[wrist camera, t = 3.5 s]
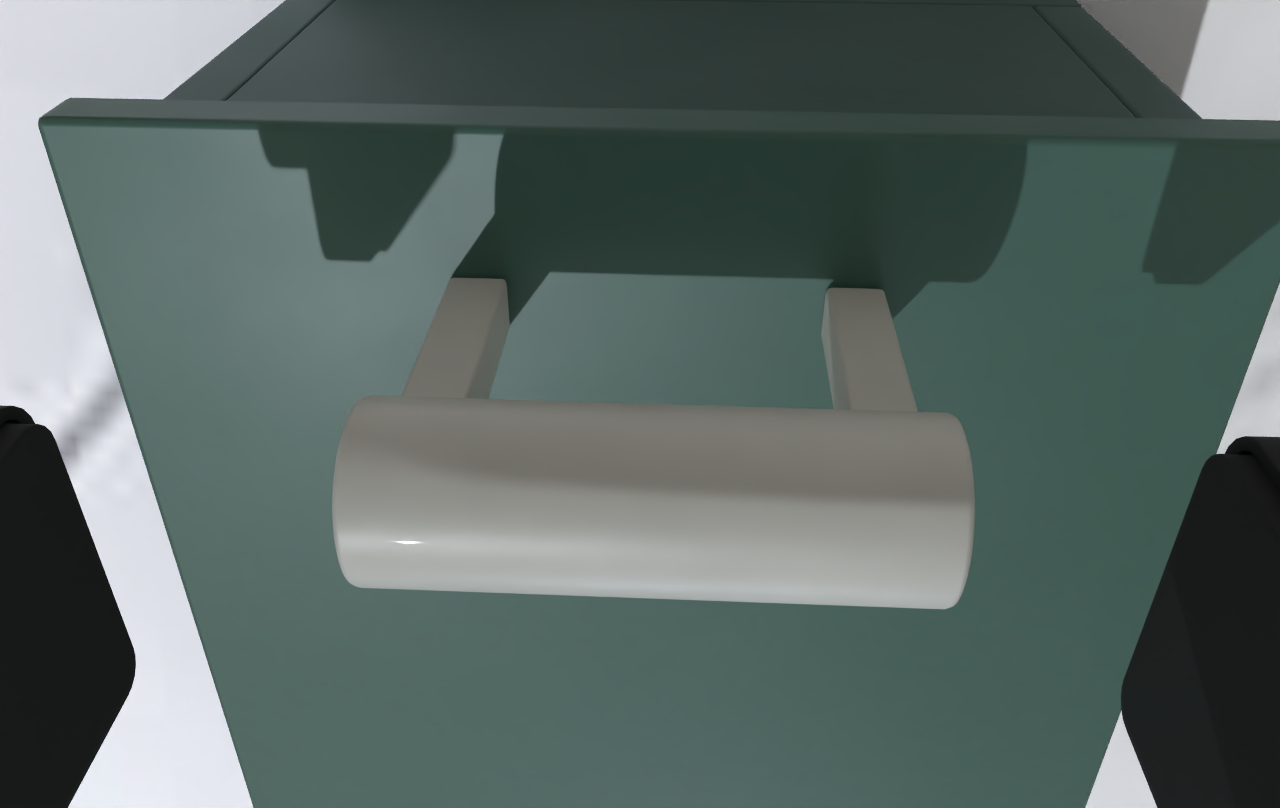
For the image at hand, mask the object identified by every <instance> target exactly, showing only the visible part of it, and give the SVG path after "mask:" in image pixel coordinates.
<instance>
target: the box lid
mask: <svg viewBox="0 0 1280 808" xmlns="http://www.w3.org/2000/svg"><path fill="white" fill-rule="evenodd" d="M38 126H39V129H40V133H41V136H42V139H43V142H44V145H45V148H46V152H47V155H48V158H49V161H50V164H51V167H52V171H53V174H54V177H55V180H56V183H57V186H58V190H59V193H60V196H61V199H62V202H63V205H64V209H65V212H66V215H67V218H68V221H69V224H70V228H71V231H72V234H73V237H74V240H75V243H76V247H77V250H78V253H79V256H80V259H81V262H82V266H83V269H84V272H85V275H86V278H87V281H88V285H89V288H90V291H91V294H92V297H93V300H94V304H95V307H96V310H97V313H98V316H99V319H100V323H101V326H102V329H103V332H104V335H105V338H106V342H107V345H108V348H109V351H110V354H111V357H112V361H113V364H114V367H115V370H116V373H117V376H118V380H119V383H120V386H121V389H122V392H123V395H124V399H125V402H126V405H127V408H128V411H129V414H130V418H131V421H132V424H133V427H134V430H135V433H136V437H137V440H138V443H139V446H140V449H141V452H142V456H143V459H144V462H145V465H146V468H147V471H148V475H149V478H150V481H151V484H152V487H153V490H154V494H155V497H156V500H157V503H158V506H159V509H160V512H161V516H162V519H163V522H164V525H165V528H166V531H167V535H168V538H169V541H170V544H171V547H172V550H173V554H174V557H175V560H176V563H177V566H178V569H179V573H180V576H181V579H182V582H183V585H184V588H185V592H186V595H187V598H188V601H189V604H190V607H191V611H192V614H193V617H194V620H195V623H196V626H197V630H198V633H199V636H200V639H201V642H202V645H203V649H204V652H205V655H206V658H207V661H208V664H209V668H210V671H211V674H212V677H213V680H214V683H215V687H216V690H217V693H218V696H219V699H220V702H221V706H222V709H223V712H224V715H225V718H226V721H227V725H228V728H229V731H230V734H231V737H232V740H233V744H234V747H235V750H236V753H237V756H238V759H239V763H240V766H241V769H242V772H243V775H244V778H245V782H246V785H247V788H248V791H249V794H250V797H251V801H252V804H253V807H254V808H1085V806H1086V804H1087V801H1088V798H1089V796H1090V793H1091V790H1092V788H1093V785H1094V782H1095V779H1096V777H1097V774H1098V771H1099V769H1100V766H1101V763H1102V761H1103V758H1104V755H1105V752H1106V750H1107V747H1108V744H1109V742H1110V739H1111V736H1112V734H1113V731H1114V728H1115V725H1116V723H1117V720H1118V717H1119V715H1120V712H1121V689H1122V684H1123V680H1124V677H1125V674H1126V672H1127V669H1128V666H1129V664H1130V661H1131V658H1132V655H1133V653H1134V650H1135V647H1136V645H1137V642H1138V639H1139V637H1140V634H1141V631H1142V629H1143V626H1144V623H1145V620H1146V618H1147V615H1148V612H1149V610H1150V607H1151V604H1152V602H1153V599H1154V596H1155V594H1156V591H1157V588H1158V586H1159V583H1160V580H1161V577H1162V575H1163V572H1164V569H1165V567H1166V564H1167V561H1168V559H1169V556H1170V553H1171V551H1172V548H1173V545H1174V542H1175V540H1176V537H1177V534H1178V532H1179V529H1180V526H1181V524H1182V521H1183V518H1184V516H1185V513H1186V510H1187V507H1188V505H1189V502H1190V499H1191V497H1192V494H1193V491H1194V489H1195V486H1196V483H1197V481H1198V478H1199V475H1200V473H1201V470H1202V468H1203V466H1204V464H1205V462H1206V460H1208V459H1209V458H1210V457H1211V456H1212V455H1216V453H1217V450H1218V447H1219V445H1220V442H1221V439H1222V437H1223V434H1224V431H1225V429H1226V426H1227V423H1228V420H1229V418H1230V415H1231V412H1232V410H1233V407H1234V404H1235V402H1236V399H1237V396H1238V393H1239V391H1240V388H1241V385H1242V383H1243V380H1244V377H1245V375H1246V372H1247V369H1248V366H1249V364H1250V361H1251V358H1252V356H1253V353H1254V350H1255V348H1256V345H1257V342H1258V339H1259V337H1260V334H1261V331H1262V329H1263V326H1264V323H1265V321H1266V318H1267V315H1268V312H1269V310H1270V307H1271V304H1272V302H1273V299H1274V296H1275V294H1276V291H1277V288H1278V285H1279V283H1280V121H1269V120H1216V119H1163V118H1109V117H1056V116H1003V115H950V114H897V113H844V112H791V111H738V110H685V109H632V108H579V107H526V106H473V105H419V104H366V103H313V102H260V101H207V100H154V99H101V98H69V99H67V100H65V101H63V102H62V103H61V104H59V105H58V106H56V107H55V108H53V109H52V110H50V111H49V112H47V113H46V114H45V115H43V116H42V117H40V118H39V122H38Z"/></svg>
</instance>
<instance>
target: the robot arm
mask: <svg viewBox="0 0 1280 808" xmlns="http://www.w3.org/2000/svg"><path fill="white" fill-rule="evenodd" d="M135 668H136V661H135V653H134V648H133V645H132V643H131V640H130V637H129V635H128V632H127V629H126V627H125V624H124V622H123V619H122V616H121V614H120V611H119V608H118V606H117V603H116V600H115V598H114V595H113V592H112V590H111V587H110V584H109V582H108V579H107V576H106V574H105V571H104V568H103V566H102V563H101V560H100V558H99V555H98V552H97V550H96V547H95V544H94V542H93V539H92V536H91V534H90V531H89V528H88V526H87V523H86V520H85V518H84V515H83V512H82V510H81V507H80V504H79V502H78V499H77V497H76V494H75V491H74V489H73V486H72V483H71V481H70V478H69V475H68V473H67V470H66V467H65V465H64V462H63V459H62V457H61V454H60V451H59V449H58V446H57V443H56V441H55V439H54V437H53V435H52V433H51V431H50V430H48V429H47V428H46V427H45V426H42V425H39V424H35V423H34V421H33V419H32V417H31V416H30V415H29V414H28V413H27V412H26V411H25V410H24V409H22V408H18V407H15V406H0V808H68V806H69V804H70V802H71V801H72V799H73V797H74V795H75V793H76V791H77V789H78V788H79V786H80V784H81V782H82V780H83V778H84V776H85V775H86V773H87V771H88V769H89V767H90V765H91V763H92V762H93V760H94V758H95V756H96V754H97V752H98V750H99V749H100V747H101V745H102V743H103V741H104V739H105V737H106V736H107V734H108V732H109V730H110V728H111V726H112V724H113V723H114V721H115V719H116V717H117V715H118V713H119V712H120V710H121V708H122V706H123V704H124V702H125V700H126V699H127V697H128V695H129V692H130V690H131V688H132V684H133V680H134V677H135ZM1121 710H1122V716H1123V721H1124V724H1125V727H1126V730H1127V732H1128V735H1129V737H1130V740H1131V742H1132V745H1133V747H1134V750H1135V752H1136V755H1137V757H1138V760H1139V762H1140V765H1141V768H1142V770H1143V773H1144V775H1145V778H1146V780H1147V783H1148V785H1149V788H1150V790H1151V793H1152V795H1153V798H1154V800H1155V803H1156V805H1157V808H1280V437H1250V436H1245V437H1241V438H1238V439H1236V440H1235V441H1234V442H1233V443H1232V444H1231V445H1230V446H1229V447H1228V449H1227V451H1226V452H1225V454H1216V455H1212V456H1211V457H1210V458H1209V459H1208V460H1206V462H1205V464H1204V466H1203V468H1202V470H1201V473H1200V475H1199V478H1198V481H1197V483H1196V486H1195V489H1194V491H1193V494H1192V497H1191V499H1190V502H1189V505H1188V507H1187V510H1186V513H1185V516H1184V518H1183V521H1182V524H1181V526H1180V529H1179V532H1178V534H1177V537H1176V540H1175V542H1174V545H1173V548H1172V551H1171V553H1170V556H1169V559H1168V561H1167V564H1166V567H1165V569H1164V572H1163V575H1162V577H1161V580H1160V583H1159V586H1158V588H1157V591H1156V594H1155V596H1154V599H1153V602H1152V604H1151V607H1150V610H1149V612H1148V615H1147V618H1146V620H1145V623H1144V626H1143V629H1142V631H1141V634H1140V637H1139V639H1138V642H1137V645H1136V647H1135V650H1134V653H1133V655H1132V658H1131V661H1130V664H1129V666H1128V669H1127V672H1126V674H1125V677H1124V680H1123V684H1122V689H1121Z"/></svg>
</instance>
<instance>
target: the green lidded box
mask: <svg viewBox="0 0 1280 808" xmlns="http://www.w3.org/2000/svg"><path fill="white" fill-rule="evenodd" d="M163 100H207V101H260V102H313V103H366V104H419V105H473V106H526V107H579V108H632V109H685V110H738V111H791V112H844V113H897V114H950V115H1003V116H1056V117H1109V118H1163V119H1202V118H1201V117H1200V116H1199V115H1198V114H1197V113H1195V112H1194V111H1193V110H1192V109H1191V108H1190V107H1189V106H1188V105H1187V104H1186V103H1185V102H1184V101H1182V100H1181V99H1180V98H1179V97H1178V96H1177V95H1176V94H1175V93H1174V92H1173V91H1172V90H1171V89H1170V88H1168V87H1167V86H1166V85H1165V84H1164V83H1163V82H1162V81H1161V80H1160V79H1159V78H1158V77H1157V76H1155V75H1154V74H1153V73H1152V72H1151V71H1150V70H1149V69H1148V68H1147V67H1146V66H1145V65H1144V64H1143V63H1141V62H1140V61H1139V60H1138V59H1137V58H1136V57H1135V56H1134V55H1133V54H1132V53H1131V52H1130V51H1128V50H1127V49H1126V48H1125V47H1124V46H1123V45H1122V44H1121V43H1120V42H1119V41H1118V40H1117V39H1115V38H1114V37H1113V36H1112V35H1111V34H1110V33H1109V32H1108V31H1107V30H1106V29H1105V28H1104V27H1103V26H1101V25H1100V24H1099V23H1098V22H1097V21H1096V20H1095V19H1094V18H1093V17H1092V16H1091V15H1090V14H1088V13H1087V12H1086V11H1085V10H1084V9H1083V8H1082V7H1081V5H1080V4H1079V3H1078V2H1077V1H1076V0H286V1H284V2H283V3H282V4H281V5H279V6H278V7H277V8H276V9H274V10H273V11H272V12H271V13H269V14H268V15H267V16H266V17H265V18H263V19H262V20H261V21H260V22H258V23H257V24H256V25H255V26H253V27H252V28H251V29H250V30H248V31H247V32H246V33H245V34H244V35H242V36H241V37H240V38H239V39H237V40H236V41H235V42H234V43H232V44H231V45H230V46H229V47H227V48H226V49H225V50H224V51H222V52H221V53H220V54H219V55H218V56H216V57H215V58H214V59H213V60H211V61H210V62H209V63H208V64H206V65H205V66H204V67H203V68H201V69H200V70H199V71H198V72H196V73H195V74H194V75H193V76H192V77H190V78H189V79H188V80H187V81H185V82H184V83H183V84H182V85H180V86H179V87H178V88H177V89H175V90H174V91H173V92H172V93H171V94H169V95H168V96H167V97H166V98H164V99H163Z"/></svg>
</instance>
